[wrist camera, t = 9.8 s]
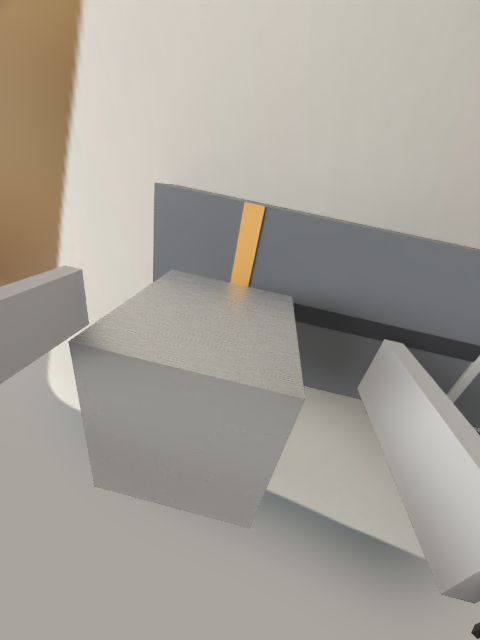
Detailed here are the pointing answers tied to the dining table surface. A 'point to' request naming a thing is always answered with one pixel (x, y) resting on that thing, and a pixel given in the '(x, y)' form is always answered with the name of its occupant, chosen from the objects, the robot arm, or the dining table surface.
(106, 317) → the cap
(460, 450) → the robot arm
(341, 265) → the fader board
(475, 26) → the dining table surface
